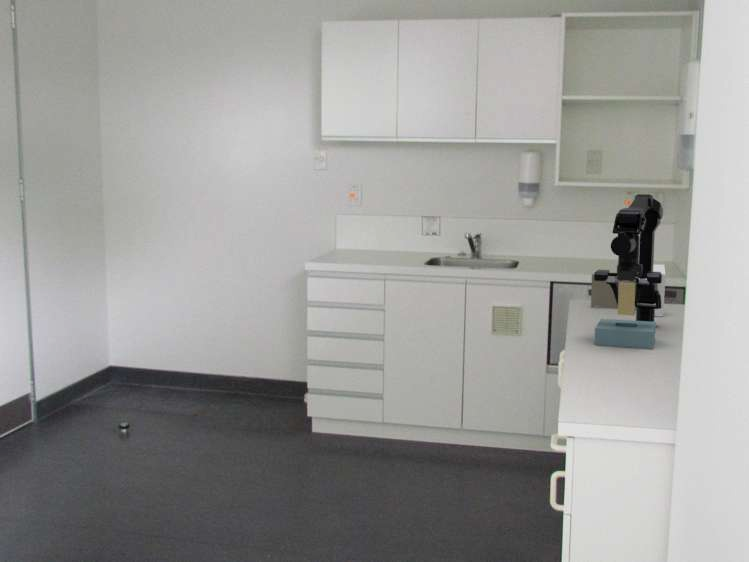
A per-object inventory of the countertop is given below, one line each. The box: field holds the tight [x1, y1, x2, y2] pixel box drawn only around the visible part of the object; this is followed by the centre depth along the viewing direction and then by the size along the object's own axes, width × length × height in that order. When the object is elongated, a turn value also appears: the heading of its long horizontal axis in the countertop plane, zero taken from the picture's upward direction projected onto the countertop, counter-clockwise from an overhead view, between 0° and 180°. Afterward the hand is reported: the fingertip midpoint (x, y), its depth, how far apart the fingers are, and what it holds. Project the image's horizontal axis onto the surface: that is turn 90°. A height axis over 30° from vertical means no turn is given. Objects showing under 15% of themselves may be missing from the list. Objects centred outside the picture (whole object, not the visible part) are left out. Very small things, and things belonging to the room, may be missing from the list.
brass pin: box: [617, 282, 636, 316], centre depth 231 cm, size 5×5×9 cm
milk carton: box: [640, 260, 666, 317], centre depth 275 cm, size 7×7×19 cm
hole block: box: [594, 318, 657, 350], centre depth 233 cm, size 16×16×5 cm
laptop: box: [590, 274, 640, 311], centre depth 293 cm, size 18×12×13 cm
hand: (626, 305), depth 232 cm, fingers closed on brass pin, 5 cm apart
